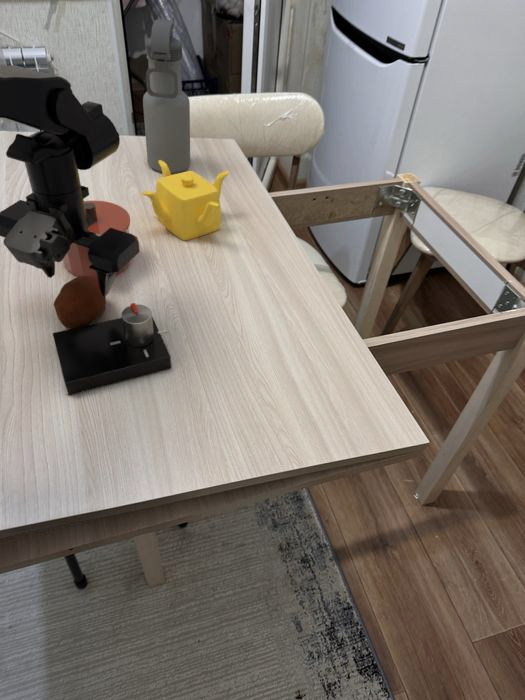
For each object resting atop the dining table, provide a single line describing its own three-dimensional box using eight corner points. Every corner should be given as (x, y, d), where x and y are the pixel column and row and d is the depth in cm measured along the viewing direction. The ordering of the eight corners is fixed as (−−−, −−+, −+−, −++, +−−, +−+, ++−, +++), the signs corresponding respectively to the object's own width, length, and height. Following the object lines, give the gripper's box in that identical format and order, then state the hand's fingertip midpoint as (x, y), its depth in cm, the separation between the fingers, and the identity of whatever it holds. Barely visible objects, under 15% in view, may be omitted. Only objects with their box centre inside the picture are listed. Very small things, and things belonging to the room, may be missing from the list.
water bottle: (187, 177, 109) (185, 33, 90) (144, 173, 109) (132, 27, 89) (192, 157, 117) (191, 20, 97) (151, 153, 116) (141, 14, 96)
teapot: (161, 200, 101) (158, 154, 94) (228, 209, 101) (230, 164, 94) (142, 238, 91) (138, 190, 84) (217, 248, 91) (218, 201, 84)
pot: (73, 294, 78) (64, 256, 73) (55, 239, 88) (46, 201, 83) (143, 281, 82) (139, 243, 77) (119, 229, 92) (114, 193, 87)
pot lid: (59, 252, 74) (54, 231, 72) (46, 211, 82) (41, 192, 79) (139, 239, 79) (137, 219, 76) (120, 202, 86) (118, 183, 84)
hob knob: (157, 343, 68) (155, 318, 65) (129, 350, 67) (125, 324, 64) (149, 325, 71) (146, 300, 67) (121, 331, 69) (118, 306, 66)
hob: (68, 395, 64) (64, 382, 62) (56, 345, 70) (52, 331, 68) (178, 366, 69) (178, 353, 67) (158, 322, 75) (157, 309, 73)
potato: (44, 325, 72) (34, 291, 68) (87, 292, 79) (80, 259, 74) (81, 342, 71) (73, 309, 66) (122, 307, 77) (117, 274, 72)
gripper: (-59, 192, 56) (-16, 297, 67) (81, 236, 52) (101, 340, 63) (10, 156, 63) (38, 256, 74) (136, 193, 60) (145, 292, 71)
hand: (78, 285), depth 70 cm, fingers open, 9 cm apart
